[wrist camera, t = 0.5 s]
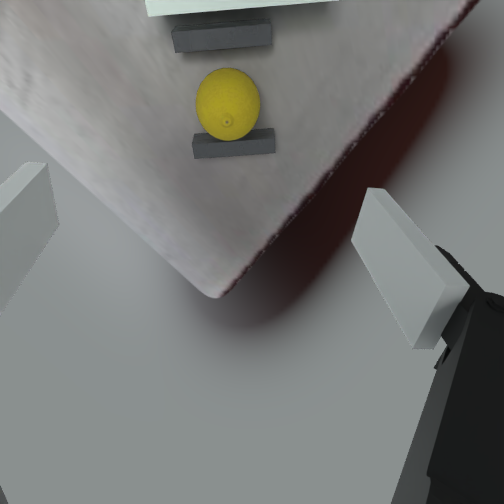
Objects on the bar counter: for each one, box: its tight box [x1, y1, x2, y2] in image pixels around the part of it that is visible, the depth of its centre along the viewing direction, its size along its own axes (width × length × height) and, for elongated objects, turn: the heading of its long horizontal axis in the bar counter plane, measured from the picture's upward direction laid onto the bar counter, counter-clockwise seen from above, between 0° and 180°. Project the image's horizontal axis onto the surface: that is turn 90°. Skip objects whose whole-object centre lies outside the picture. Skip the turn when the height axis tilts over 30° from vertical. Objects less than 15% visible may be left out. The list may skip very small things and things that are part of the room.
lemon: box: [196, 68, 260, 141], centre depth 32 cm, size 6×6×8 cm
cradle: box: [171, 18, 275, 159], centre depth 34 cm, size 8×11×2 cm
